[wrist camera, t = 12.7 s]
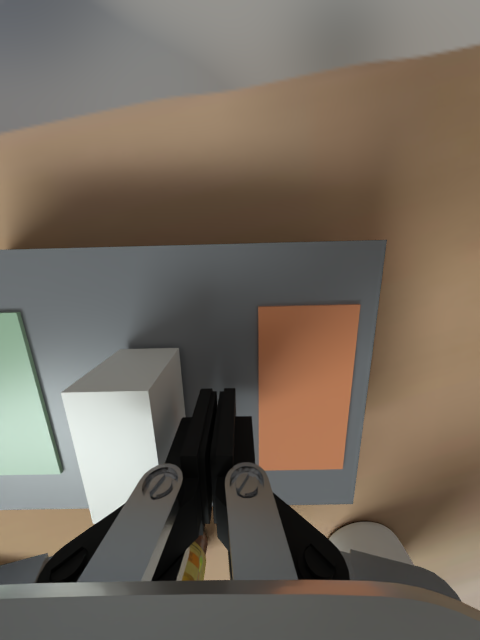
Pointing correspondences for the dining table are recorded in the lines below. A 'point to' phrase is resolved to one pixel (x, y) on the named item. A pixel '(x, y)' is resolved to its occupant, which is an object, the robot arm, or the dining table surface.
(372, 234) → the dining table surface
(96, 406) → the switch knob
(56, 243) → the dining table surface
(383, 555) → the pill bottle
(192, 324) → the switch box
